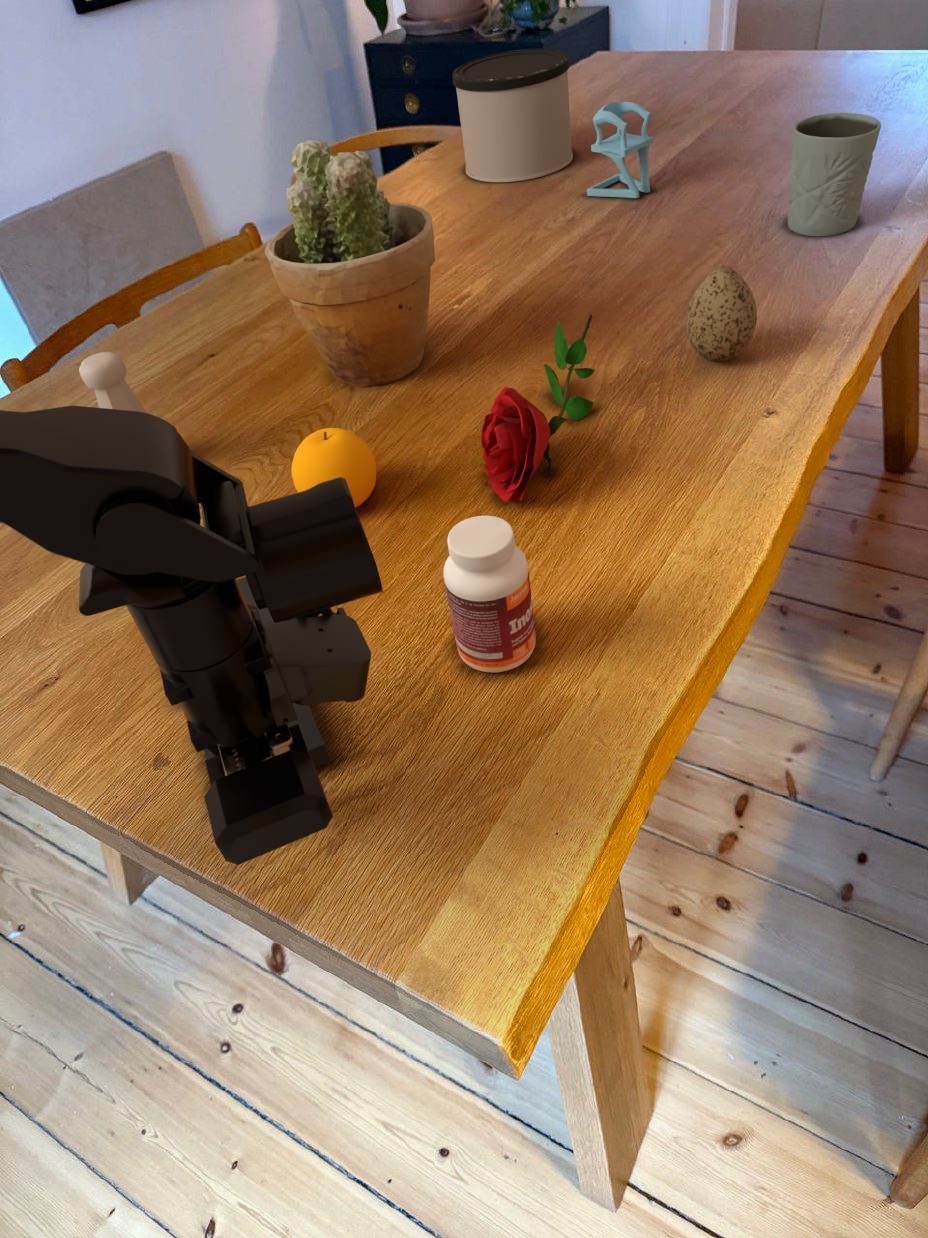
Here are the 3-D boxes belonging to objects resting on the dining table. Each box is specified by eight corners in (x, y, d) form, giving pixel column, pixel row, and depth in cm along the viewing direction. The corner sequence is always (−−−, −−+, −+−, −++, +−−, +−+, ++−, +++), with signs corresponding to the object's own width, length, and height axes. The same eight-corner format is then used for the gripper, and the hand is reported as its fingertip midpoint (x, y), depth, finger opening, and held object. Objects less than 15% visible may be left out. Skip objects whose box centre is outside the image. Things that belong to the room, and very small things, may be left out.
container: (525, 188, 144) (516, 83, 134) (442, 175, 155) (428, 77, 144) (596, 150, 153) (592, 49, 143) (513, 140, 163) (504, 45, 153)
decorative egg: (754, 373, 93) (762, 280, 87) (684, 375, 95) (687, 283, 88) (752, 340, 98) (760, 250, 92) (685, 342, 100) (688, 254, 93)
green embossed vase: (776, 214, 123) (785, 118, 114) (852, 204, 121) (867, 106, 113) (792, 242, 115) (804, 141, 107) (874, 232, 114) (892, 130, 106)
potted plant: (272, 376, 108) (202, 155, 91) (385, 314, 116) (340, 101, 99) (369, 419, 97) (311, 178, 80) (485, 348, 106) (455, 116, 89)
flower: (560, 257, 94) (475, 432, 76) (640, 297, 94) (575, 480, 76) (529, 325, 101) (445, 500, 83) (604, 362, 101) (537, 543, 83)
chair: (627, 204, 133) (626, 115, 125) (585, 195, 138) (582, 109, 130) (660, 186, 136) (661, 99, 128) (618, 178, 141) (617, 94, 133)
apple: (292, 526, 85) (270, 460, 80) (313, 478, 91) (294, 413, 85) (373, 524, 83) (356, 456, 78) (390, 475, 89) (374, 409, 84)
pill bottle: (530, 678, 67) (516, 565, 59) (450, 673, 68) (426, 563, 61) (542, 620, 71) (530, 509, 63) (466, 617, 72) (446, 508, 65)
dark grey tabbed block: (222, 806, 62) (213, 789, 61) (199, 711, 69) (190, 694, 68) (331, 761, 63) (324, 744, 62) (297, 673, 70) (290, 656, 69)
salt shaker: (181, 452, 98) (135, 341, 89) (163, 482, 94) (114, 370, 85) (132, 455, 99) (82, 346, 90) (112, 485, 95) (58, 375, 86)
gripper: (391, 691, 44) (439, 859, 55) (299, 502, 58) (352, 667, 68) (172, 777, 42) (267, 935, 53) (129, 561, 56) (211, 721, 66)
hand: (280, 798), depth 60 cm, fingers closed
